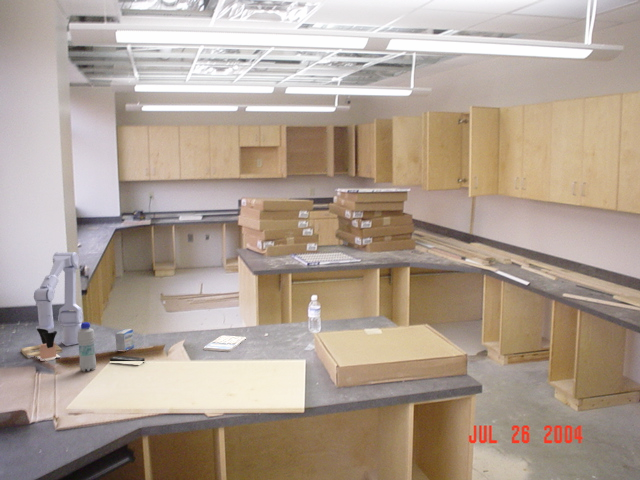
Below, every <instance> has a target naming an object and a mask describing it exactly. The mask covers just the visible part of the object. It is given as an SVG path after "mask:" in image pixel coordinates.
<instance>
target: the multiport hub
mask: <svg viewBox="0 0 640 480" xmlns="http://www.w3.org/2000/svg"><path fill="white" fill-rule="evenodd" d="M110 361H145V357H136V356H128V355H127V356H124V355H114V356H112V357H110V358H109V362H110Z"/></svg>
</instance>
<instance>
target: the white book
mask: <svg viewBox="0 0 640 480" xmlns="http://www.w3.org/2000/svg"><path fill="white" fill-rule="evenodd" d="M245 339H246V340H247V337H246V336H234V335H223V334H222V335H220V336H219V337H217V338H216V339H214V340H212V341H211V342H209V343H208V344H206V345H205V346H204V347H203V350H204V351H215V352H216V351H217V352H231V351H233V350H234V349H235V348H237V347H238V346H240V345H241V344H242V343H243V342H242V341H244V340H245ZM246 340H245V341H246ZM245 341H244V342H245ZM241 342H242V343H241ZM240 343H241V344H240ZM239 344H240V345H239Z"/></svg>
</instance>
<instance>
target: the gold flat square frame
mask: <svg viewBox="0 0 640 480" xmlns="http://www.w3.org/2000/svg"><path fill="white" fill-rule="evenodd" d="M39 345H40V344H38V345H32V346H27V347H21V348H20V352H21V353H22V354H23V355H24V356H25V357H26V358H27V360H31V359H30V358H28V357H27V355H31V356H36V357H38V356H40V346H39ZM55 345H56V354H60V353H63V349H62V347H60V345H58V344H56V343H55ZM36 357H35V358H36Z"/></svg>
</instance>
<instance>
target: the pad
mask: <svg viewBox="0 0 640 480" xmlns="http://www.w3.org/2000/svg"><path fill="white" fill-rule="evenodd" d="M38 357H39V358H40V356H38ZM56 357H61V356H60V355H59V353H56V356H54V357H49V358H45V360H46V361H45V362H50V361H54V360H56V359H55V358H56Z"/></svg>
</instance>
